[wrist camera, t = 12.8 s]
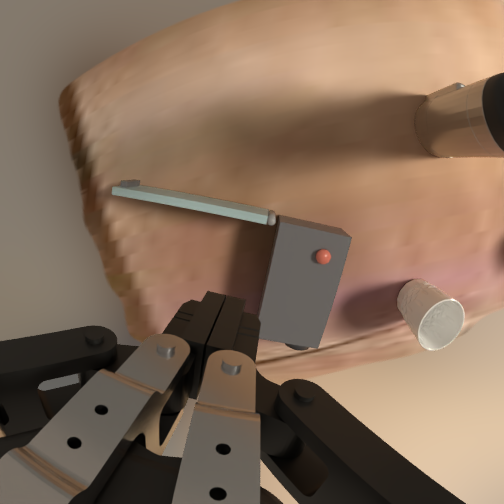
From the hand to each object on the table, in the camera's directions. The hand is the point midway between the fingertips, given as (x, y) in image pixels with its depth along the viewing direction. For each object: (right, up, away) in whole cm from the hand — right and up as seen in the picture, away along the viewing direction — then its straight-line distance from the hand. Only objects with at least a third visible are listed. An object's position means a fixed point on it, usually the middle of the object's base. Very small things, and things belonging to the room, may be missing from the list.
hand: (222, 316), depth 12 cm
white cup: (+27, -5, +32) cm, 42 cm away
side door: (-6, +10, +30) cm, 32 cm away
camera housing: (+8, -1, +32) cm, 33 cm away
